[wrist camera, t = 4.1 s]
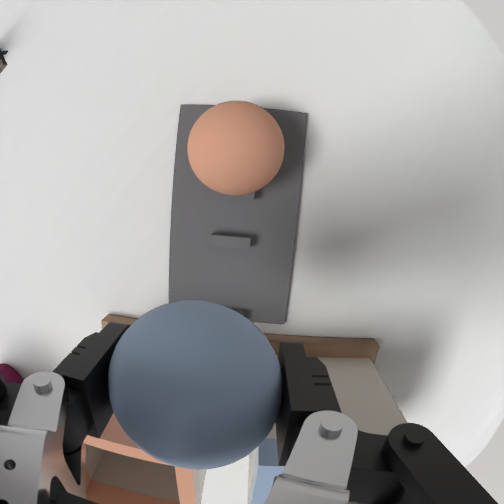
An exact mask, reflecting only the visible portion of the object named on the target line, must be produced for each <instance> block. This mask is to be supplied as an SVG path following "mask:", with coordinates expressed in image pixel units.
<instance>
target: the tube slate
mask: <svg viewBox="0 0 504 504" xmlns="http://www.w3.org/2000/svg"><path fill="white" fill-rule="evenodd" d="M276 356H277V358H278V355H276ZM317 358H318V359H319V360H320V361H321V362H322V363H323V364H324V365H325V366H326V368H327V371H328V374H329V377H330V380H331V383H332V385H333V388H334V391H335V394H336V397H337V400H338V403H339V406H340V409H341V412H342V414H345V415H346V416H348V417H350V418H351V419H352V420H353V421H354V422H355V424H356V426H357V429H358V430H360V431H363V432H366V433H372V434H379V435H386V436H388V434H389V432H390V431H391V429H392V428H393V427H395V426H397V425H399V424H403V423H407V421H406V419H405V418H404V416H403V414H402V412H401V411H400V409H399V407H398V405H397V404H396V402H395V400H394V398H393V397H392V395H391V393H390V391H389V390H388V388H387V386H386V385H385V383H384V381H383V379H382V378H381V376H380V374H379V373H378V371H377V369H376V368H375V366H374V364H373V363H372V361H371V359H370V358H324V357H317ZM284 468H285V466H278V452H277V437H276V423H275V424H274V426H273V428H272V430H271V432H270V433H269V434H268V436H267V437H266V438H265V440H264V441H263V442H262V443H261V444H260V445H259V446H258V447H257V448H256V449H255V450H253V451H252V452H251V453H249V476H248V504H264V503H265V501H266V499H267V497H268V495H269V493H270V491H271V489H272V487H273V485H274V483H275V481H276V479H277V477H278V476H279V474H282V472H283V470H284ZM348 504H358V503H357V502H350V501H348Z"/></svg>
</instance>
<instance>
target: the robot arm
mask: <svg viewBox="0 0 504 504" xmlns="http://www.w3.org/2000/svg"><path fill="white" fill-rule="evenodd" d="M129 327H130V325H128V324H122V323H116V322H109V323H108V324H107V325H106V326H105V327H104V328H103V329H102V330H101V332H100V333H97V332H96V333H93V334H91V335H89V336H87V337H85V338H84V339H83V340H82V341H81V342H80V343H79V344H78V345H77V347H75V348H74V349H73V350H72V353H70V354H69V355H68V356H67V357H66V358H65V359H64V360H63V361H62V362H61V363H60V364H59V365H58V366H57V367H56V369H55V370H54V371H53V372H50V371H41V372H36V373H33V374H31V375H29V376H28V377H26V378H25V379H24V381H23V382H22V384H18V383H9V382H4V379H3V377H2V374H1V371H0V504H98V503H95V502H92V501H90V500H87V497H86V488H85V461H86V447H85V444H84V440H85V438H86V436H87V435H89V436H92V437H95V438H99V439H100V437H101V435H102V433H103V431H104V430H105V428H106V426H107V424H108V422H109V420H110V418H111V417H112V415H113V413H114V412H113V409H112V406H111V402H110V398H109V391H108V372H109V365H110V361H111V358H112V355H113V352H114V350H115V347H116V345H117V343H118V342H119V340H120V339H121V337H122V336H123V334H124V333H125V331H126V330H127V329H128V328H129ZM278 360H279V364H280V368H281V372H282V376H283V394H282V403H281V409H280V412H279V416H278V418H277V420H276V422H275V423H276V437H277V452H278V466H285V468H284V470H283V472H282V474H279V476H278V477H277V479H276V481H275V483H274V485H273V487H272V489H271V491H270V493H269V495H268V497H267V499H266V501H265V503H264V504H348V501H350V502H357V503H358V504H498V503H497V502H496V501H495V500H494V499H493V498H492V497H491V496H490V494H489V493H488V492H487V491H486V490H485V489H484V488H483V487H482V486H481V485H480V484H479V483H478V482H477V480H476V479H475V478H474V477H473V476H472V475H471V474H470V473H469V472H468V471H467V470H466V469H465V467H464V466H463V465H462V464H461V463H460V462H459V461H458V460H457V459H456V458H455V457H454V456H453V455H452V453H451V452H450V451H449V450H448V449H447V448H446V447H445V446H444V445H443V444H442V443H441V442H440V441H439V439H438V438H437V437H436V436H435V435H434V434H433V433H432V432H431V431H430V430H428V429H427V428H425V427H423V426H421V425H418V424H414V423H403V424H399V425H397V426H395V427H393V428H392V429H391V431H390V432H389V434H388V436H386V435H379V434H372V433H366V432H363V431H360V430H358V429H357V426H356V424H355V422H354V421H353V420H352V419H351V418H350V417H348V416H346V415H345V414H342V412H341V409H340V406H339V403H338V400H337V397H336V394H335V391H334V388H333V385H332V383H331V380H330V377H329V374H328V371H327V368H326V366H325V365H324V364H323V363H322V362H321V361H320V360H319V359H318V358H317V357H306V353H305V350H304V346H303V343H299V342H280V346H279V352H278Z"/></svg>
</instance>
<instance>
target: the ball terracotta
mask: <svg viewBox="0 0 504 504" xmlns="http://www.w3.org/2000/svg"><path fill="white" fill-rule="evenodd" d="M187 151H188V158H189V162H190V165H191V168H192V170H193V171H194V173H195V175H196V176H197V177H198V179H199V180H200V181H201V182H202V183H203V184H205V185H206V186H207V187H209V188H210V189H212V190H214V191H217V192H219V193H222V194H226V195H245V194H249V193H252V192H255V191H257V190H259V189H261V188H263V187H264V186H265V185H267V184H268V183H269V182H270V181H271V180H272V179H273V178H274V176H275V175H276V174H277V172H278V171H279V169H280V166H281V164H282V161H283V157H284V138H283V134H282V131H281V129H280V127H279V125H278V123H277V122H276V120H275V119H274V118H273V117H272V116H271V115H270V114H269V113H268V112H267V111H266V110H264V109H263V108H261V107H259V106H258V105H255V104H253V103H249V102H245V101H228V102H223V103H220V104H218V105H215V106H213V107H211V108H210V109H208V110H207V111H205V112H204V113H203V114H202V115H201V116H200V117H199V118H198V120H197V121H196V122H195V124H194V125H193V127H192V129H191V132H190V135H189V138H188V145H187Z"/></svg>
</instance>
